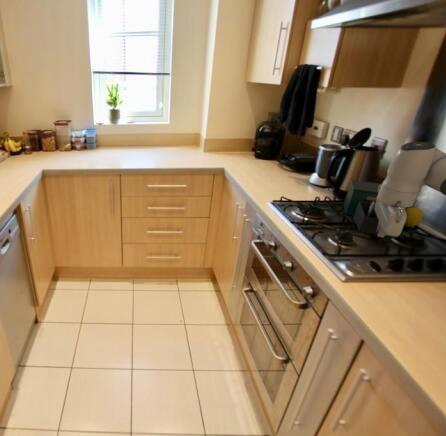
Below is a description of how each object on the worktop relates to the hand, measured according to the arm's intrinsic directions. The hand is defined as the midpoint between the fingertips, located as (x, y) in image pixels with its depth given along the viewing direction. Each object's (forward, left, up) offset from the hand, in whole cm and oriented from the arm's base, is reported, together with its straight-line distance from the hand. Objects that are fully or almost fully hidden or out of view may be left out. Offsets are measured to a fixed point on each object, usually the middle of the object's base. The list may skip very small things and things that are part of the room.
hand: (379, 235), depth 102 cm
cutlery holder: (0, -12, -4) cm, 12 cm away
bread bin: (0, -26, -4) cm, 26 cm away
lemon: (-12, -19, -4) cm, 22 cm away
